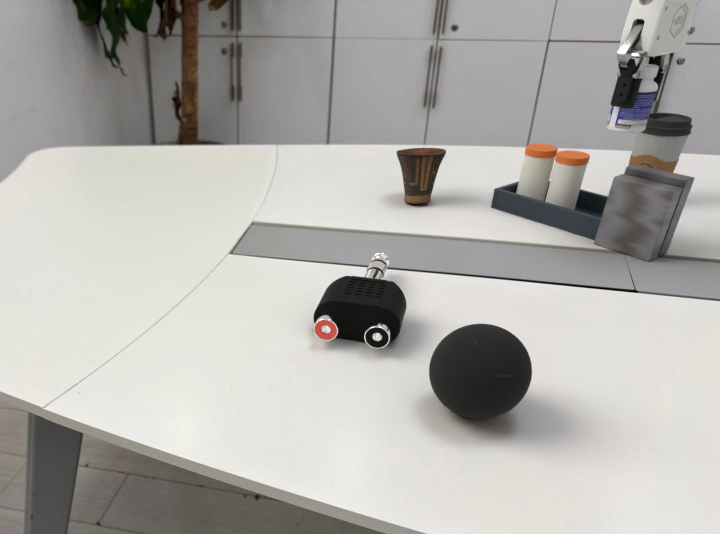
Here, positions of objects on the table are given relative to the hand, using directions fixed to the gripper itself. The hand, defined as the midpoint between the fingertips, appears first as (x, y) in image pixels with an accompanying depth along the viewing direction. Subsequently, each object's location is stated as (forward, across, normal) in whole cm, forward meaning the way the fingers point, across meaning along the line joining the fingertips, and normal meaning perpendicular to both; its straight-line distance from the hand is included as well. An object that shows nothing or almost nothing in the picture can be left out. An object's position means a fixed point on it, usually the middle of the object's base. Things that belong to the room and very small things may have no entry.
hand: (633, 102), depth 100 cm
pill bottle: (+4, 0, 0) cm, 4 cm away
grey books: (+21, 0, -6) cm, 22 cm away
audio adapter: (+21, -48, +5) cm, 52 cm away
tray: (+21, +6, +9) cm, 24 cm away
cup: (+21, -8, +31) cm, 39 cm away
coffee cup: (+21, +24, +5) cm, 32 cm away
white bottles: (+21, +6, +13) cm, 25 cm away
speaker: (+21, -56, -19) cm, 63 cm away
